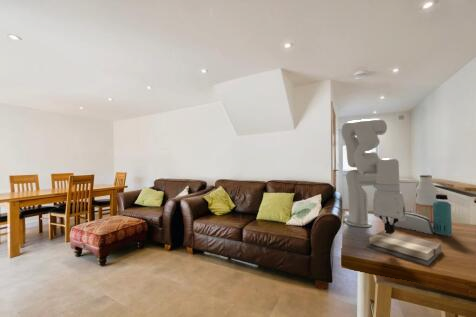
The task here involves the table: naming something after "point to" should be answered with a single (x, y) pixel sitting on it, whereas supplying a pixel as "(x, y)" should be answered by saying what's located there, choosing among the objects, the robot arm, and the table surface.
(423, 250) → the birch plank
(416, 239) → the floor panel
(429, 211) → the fruit juice
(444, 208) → the beverage bottle
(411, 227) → the white toaster
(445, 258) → the table surface
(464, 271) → the table surface
